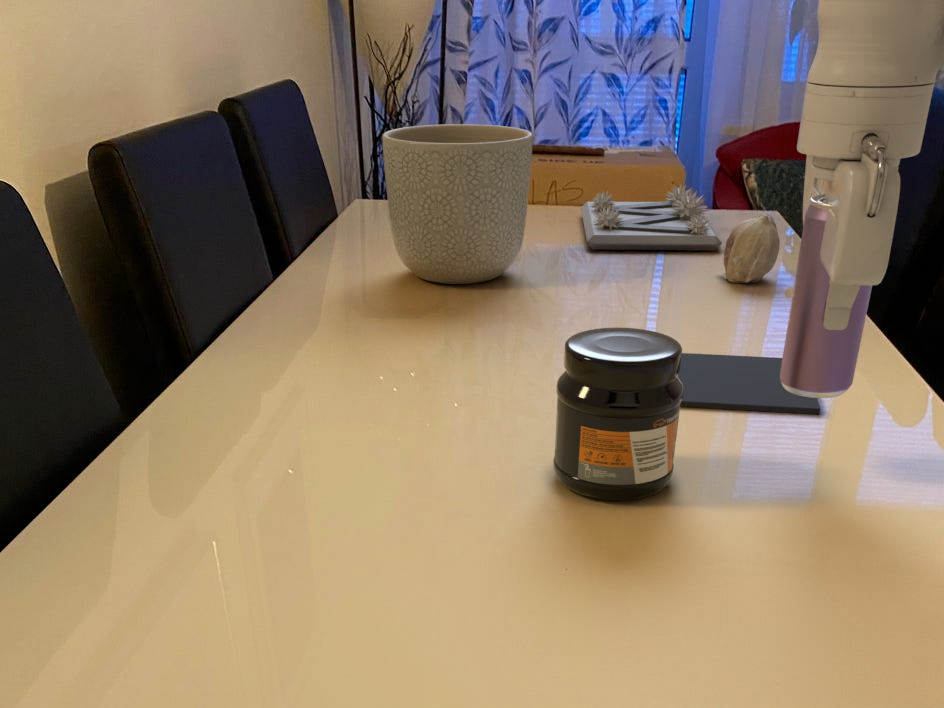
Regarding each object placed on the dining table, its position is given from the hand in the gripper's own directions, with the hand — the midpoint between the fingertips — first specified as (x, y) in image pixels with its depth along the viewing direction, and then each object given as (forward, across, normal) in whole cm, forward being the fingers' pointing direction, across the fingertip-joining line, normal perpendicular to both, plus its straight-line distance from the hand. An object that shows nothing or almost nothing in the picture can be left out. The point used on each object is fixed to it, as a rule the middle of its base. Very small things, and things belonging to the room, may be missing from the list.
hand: (827, 314), depth 81 cm
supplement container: (+14, -5, +17) cm, 22 cm away
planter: (+13, +64, +42) cm, 78 cm away
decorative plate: (+14, +98, +16) cm, 100 cm away
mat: (+14, +22, +4) cm, 26 cm away
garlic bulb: (+14, +67, 0) cm, 68 cm away
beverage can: (+6, 0, 0) cm, 6 cm away
